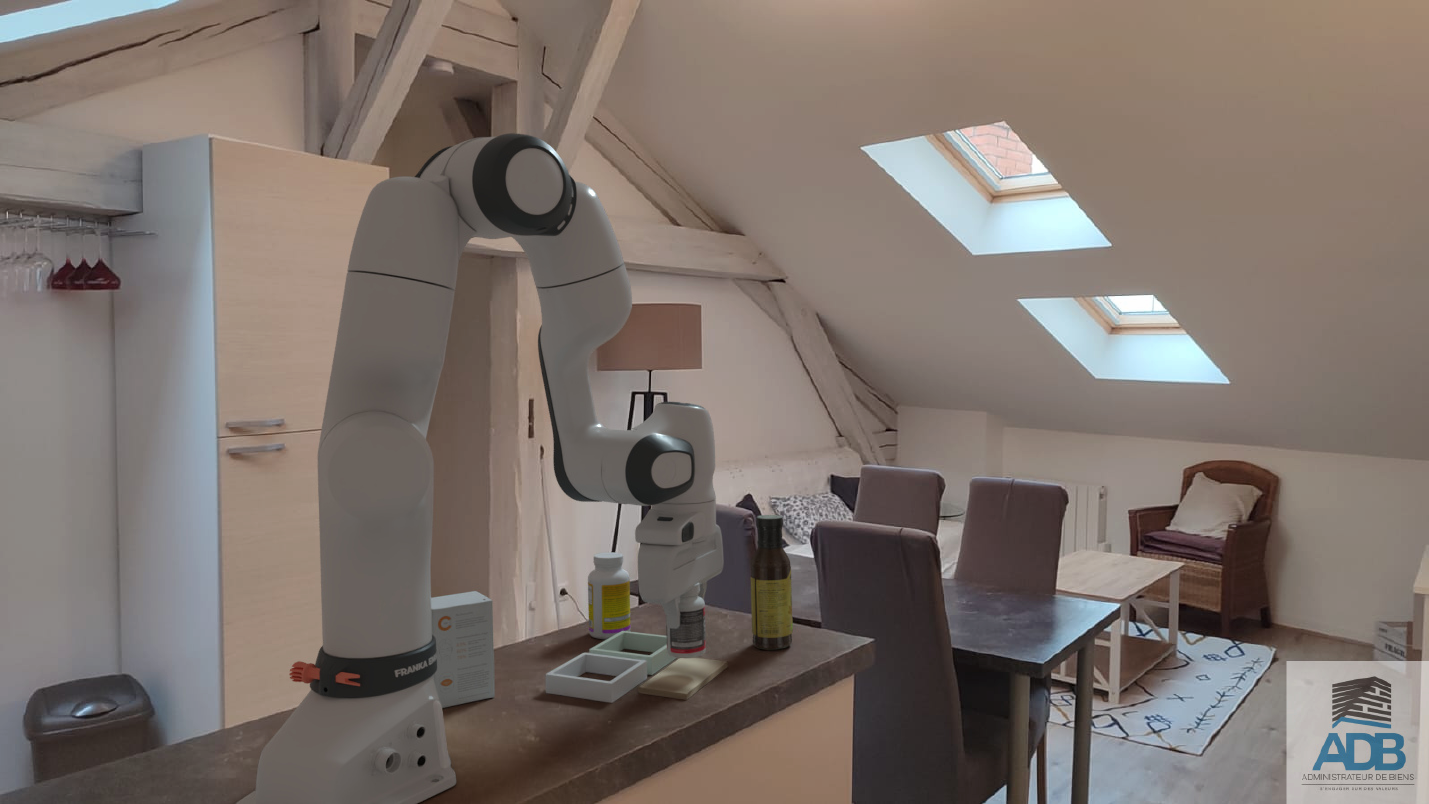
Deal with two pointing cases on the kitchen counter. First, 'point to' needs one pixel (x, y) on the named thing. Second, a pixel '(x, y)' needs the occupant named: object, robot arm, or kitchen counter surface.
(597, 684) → the white square frame
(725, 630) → the kitchen counter surface
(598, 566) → the supplement bottle
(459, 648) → the small box
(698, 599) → the pill bottle
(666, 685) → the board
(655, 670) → the sage tray
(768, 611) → the sauce bottle
